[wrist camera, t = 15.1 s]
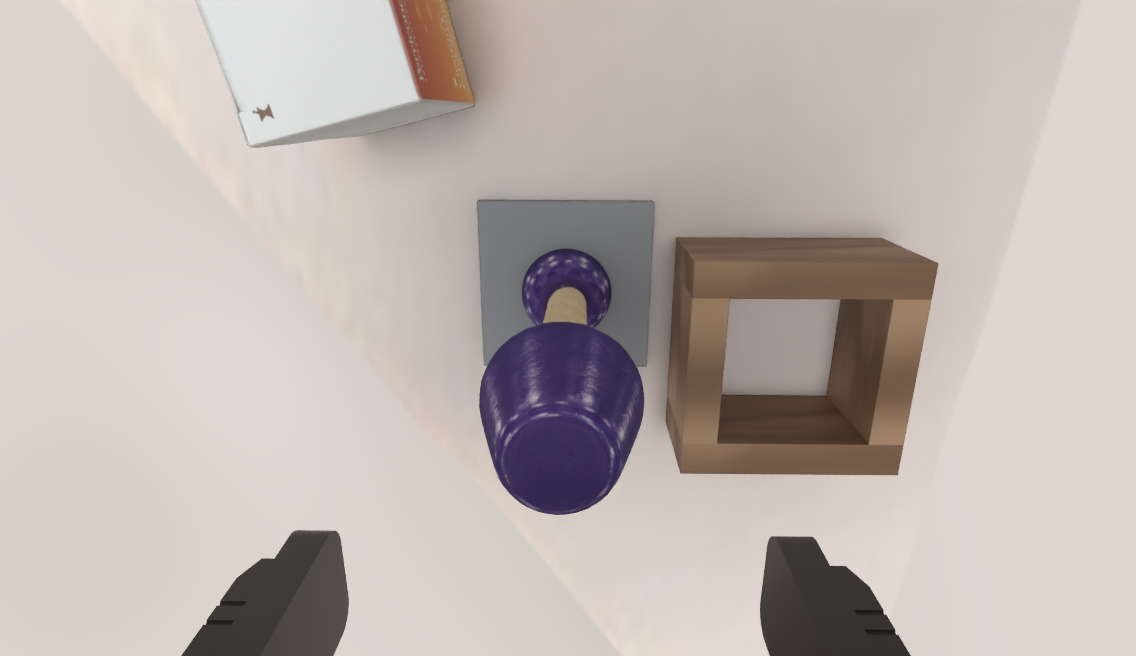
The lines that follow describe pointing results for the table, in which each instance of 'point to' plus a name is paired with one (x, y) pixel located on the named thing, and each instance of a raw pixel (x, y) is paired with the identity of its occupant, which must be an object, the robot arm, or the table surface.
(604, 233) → the slate pad
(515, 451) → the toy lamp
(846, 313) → the wooden cube shelf
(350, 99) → the small box
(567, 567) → the table surface
